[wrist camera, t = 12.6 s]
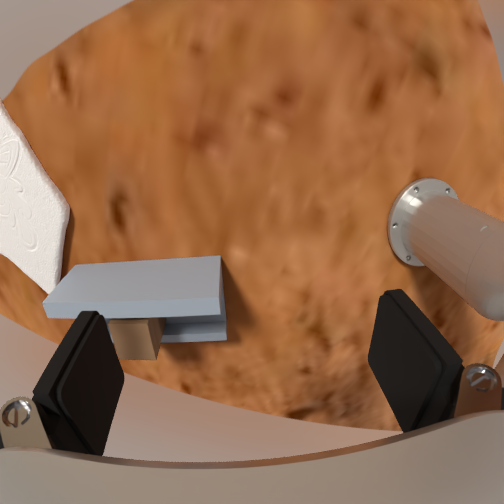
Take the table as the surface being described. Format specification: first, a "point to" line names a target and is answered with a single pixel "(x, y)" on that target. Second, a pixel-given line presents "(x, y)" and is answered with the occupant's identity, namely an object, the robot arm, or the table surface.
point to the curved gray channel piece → (149, 295)
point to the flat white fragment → (29, 209)
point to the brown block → (137, 337)
